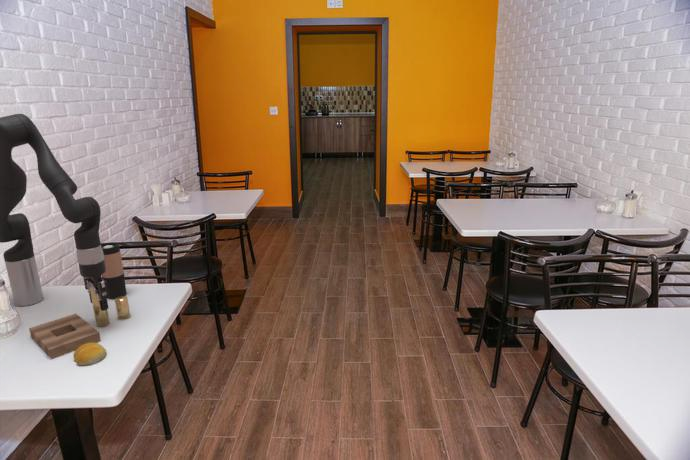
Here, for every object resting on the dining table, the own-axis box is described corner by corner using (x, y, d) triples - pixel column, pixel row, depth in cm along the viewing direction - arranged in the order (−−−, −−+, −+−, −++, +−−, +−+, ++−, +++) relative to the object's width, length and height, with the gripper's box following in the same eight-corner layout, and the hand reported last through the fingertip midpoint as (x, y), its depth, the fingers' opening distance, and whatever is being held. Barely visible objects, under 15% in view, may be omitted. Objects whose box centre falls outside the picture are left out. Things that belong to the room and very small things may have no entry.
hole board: (30, 336, 157) (28, 328, 157) (77, 321, 167) (75, 313, 166) (51, 358, 144) (49, 349, 143) (100, 340, 154) (99, 332, 153)
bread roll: (79, 369, 139) (77, 357, 137) (72, 357, 145) (69, 345, 144) (110, 359, 144) (108, 346, 142) (101, 347, 150) (99, 335, 149)
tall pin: (94, 324, 164) (87, 285, 160) (106, 320, 167) (100, 282, 163) (99, 328, 162) (92, 289, 158) (111, 324, 165) (104, 285, 161)
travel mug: (100, 298, 185) (91, 247, 180) (116, 290, 192) (108, 241, 187) (116, 300, 183) (107, 249, 177) (131, 292, 189) (123, 243, 184)
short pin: (115, 317, 169) (112, 298, 167) (127, 313, 172) (124, 295, 170) (120, 321, 167) (117, 302, 165) (132, 317, 169) (129, 298, 167)
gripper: (70, 258, 160) (79, 304, 165) (87, 268, 151) (96, 316, 155) (94, 252, 165) (102, 296, 170) (112, 261, 156) (120, 308, 160)
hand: (99, 306), depth 162 cm, fingers open, 8 cm apart
